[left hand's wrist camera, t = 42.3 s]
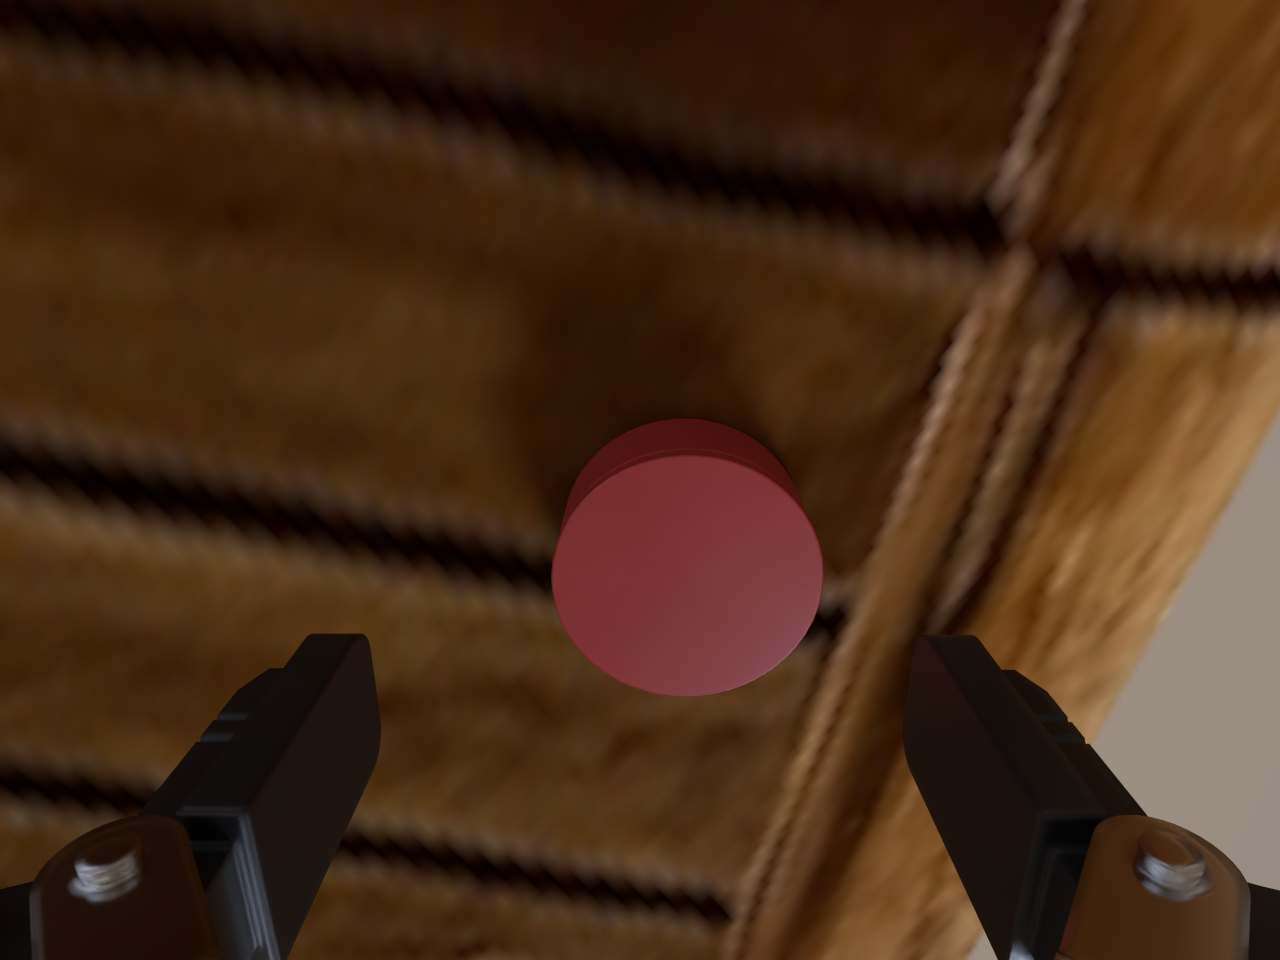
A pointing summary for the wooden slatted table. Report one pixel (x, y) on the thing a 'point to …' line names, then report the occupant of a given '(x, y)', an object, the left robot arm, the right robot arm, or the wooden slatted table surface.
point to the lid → (686, 560)
